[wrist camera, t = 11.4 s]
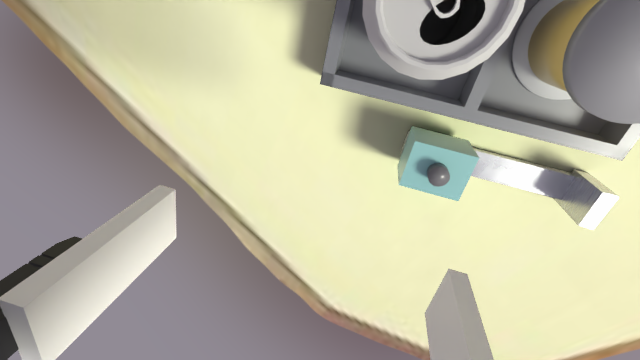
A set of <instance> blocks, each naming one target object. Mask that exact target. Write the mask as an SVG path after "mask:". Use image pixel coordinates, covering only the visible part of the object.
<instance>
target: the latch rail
mask: <svg viewBox="0 0 640 360" xmlns="http://www.w3.org/2000/svg"><path fill="white" fill-rule="evenodd" d="M409 133H410V131H408V133H407V136H406V139H405V141H404V144H403V147H402V150H401V153H400V157H401V155H402V152H403V150H404V147H405V144H406V141H407V139H408V136H409ZM473 149H474V150H475V152H476V153H477V155H478V156H479V160H478V162H477V164H476V166H475V168H474V170H473V172H472V174H471V176H474V177H478V178H481V179H485V180H489V181H493V182H496V183H500V184H504V185H507V186H511V187H515V188H519V189H522V190H526V191H530V192H534V193H537V194H541V195H545V196H549V197H552V198H554V200H555V201H556V202H557V203H558V204H559V205H560V206H561V207H562V208H563V209H564V210H565V212H566V213H567V214H568V215H569V216H570V217H571V218H572V219H573V220H574V221H575V222H576V224H577V225H578V226H582V227H585V228H589V229H593V230H594V229H595V227H596V226H597V225H598V224H599V222H600V221H601V220H602V218H603V217H604V216H605V215H606V213H607V212H608V211H609V210H610V208H611V207H612V206H613V204H614V203H615V202H616V201H617V199H618V198H619V196H617V195H616V194H615V193H614V192H612V191H611V190H610V189H608V188H607V187H606V186H604V185H603V184H602V183H601V182H599V181H598V180H597V179H595V178H594V177H593V176H591V175H590V174H589V173H587V172H583V171H579V170H576V169H574V170H573V171H572V173H570V172H566V171H562V170H558V169H554V168H550V167H546V166H543V165H539V164H535V163H531V162H527V161H523V160H520V159H516V158H512V157H508V156H504V155H500V154H496V153H493V152H489V151H485V150H481V149H477V148H473Z"/></svg>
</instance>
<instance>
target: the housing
mask: <svg viewBox="0 0 640 360" xmlns="http://www.w3.org/2000/svg"><path fill="white" fill-rule="evenodd" d="M562 1H564V0H525V3H524V8H523V11H522V13H521V15H520V17H519V19H518V21H517V22H516V24H515V26H514V28H513V30H512V32H511V33H510V35H509V37H508V38H507V39H506V40H505V41H504V43H503V44H502V45H501V46H500V47H499V48H498V49H497V50H496V51H495V52H494V53H493V54H492V55H491V56H490V57H489V58H488V59H487V60H485V61H484V62H482V63H480V64H479V65H477V66H476V67H474V68H472V69H471V70H469V71H468V72H466V73H463V74H460V75H456V76H453V77H449V78H446V79H443V80H421V79H416V78H413V77H410V76H407V75H405V74H402V73H399V72H397V71H396V70H395V69H393V68H392V67H391V66H390V65H388V64H387V63H386V62H385V61H383V60H382V59H381V58H380V56H379V55H378V53H377V52H376V50H375V48H374V47H373V45H372V44H371V42H370V41H369V39H368V35H367V31H366V27H365V23H364V19H363V15H362V14H363V0H337V2H336V7H335V12H334V17H333V22H332V27H331V32H330V37H329V42H328V47H327V52H326V57H325V62H324V67H323V72H322V77H321V82H320V84H322V85H326V86H330V87H334V88H338V89H342V90H346V91H350V92H354V93H358V94H362V95H365V96H369V97H373V98H377V99H381V100H385V101H389V102H393V103H397V104H401V105H405V106H409V107H413V108H417V109H421V110H425V111H428V112H432V113H436V114H440V115H444V116H448V117H452V118H456V119H460V120H464V121H468V122H472V123H476V124H480V125H484V126H487V127H491V128H495V129H499V130H503V131H507V132H511V133H515V134H519V135H523V136H527V137H531V138H535V139H539V140H543V141H547V142H550V143H554V144H558V145H562V146H566V147H570V148H574V149H578V150H582V151H586V152H590V153H594V154H598V155H602V156H606V157H610V158H613V159H617V160H621V161H622V160H623V159H624V158H625V156H626V155H627V154H628V152H629V151H630V150H631V148H632V147H633V145H634V144H635V143H636V141H637V140H638V139H639V137H640V123H638V124H623V123H616V122H610V121H607V120H604V119H601V118H599V117H597V116H595V115H593V114H591V113H589V112H587V111H585V110H583V109H582V108H580V107H579V106H578V105H577V104H576V103H575V102H574V101H573V100H572V99H571V97H570V96H569V94H568V92H566V91H564V90H561V89H559V88H556V87H554V86H551V85H549V84H547V83H545V82H543V81H541V80H540V79H539V78H538V77H537V76H536V75H535V74H534V73H533V71H532V69H531V67H530V64H529V61H528V47H529V42H530V38H531V36H532V34H533V31H534V30H535V28H536V26H537V25H538V23H539V22H540V20H541V19H542V18H543V17H544V16H545V15H546V14H547V13H548V12H549V11H550V10H551V9H552V8H553V7H555V6H556V5H557V4H559V3H560V2H562Z"/></svg>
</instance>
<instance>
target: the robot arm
mask: <svg viewBox="0 0 640 360" xmlns="http://www.w3.org/2000/svg"><path fill="white" fill-rule="evenodd" d="M175 238H176V191H175V189H172V188H169V187H165V186H162V185H159V186H157V187H156V188H154V189H153V190H152V191H150V192H149V193H147V194H146V195H145V196H143V197H142V198H140V199H139V200H137V201H136V202H135V203H133V204H132V205H130V206H129V207H127V208H126V209H125V210H123V211H122V212H120V213H119V214H117V215H116V216H115V217H113V218H112V219H111V220H109V221H108V222H106V223H105V224H103V225H102V226H100V227H99V228H98V229H96V230H95V231H93V232H92V233H90V234H89V235H88V236H86V237H85V238H83V239H81V238H78V237H72V238H70V239H67V240H64V241H62V242H59V243H57V244H55V245H54V246H52V247H51V248H49V249H48V250H46V251H45V252H43V253H42V255H41V256H37V257H36V258H34V259H33V260H31V261H30V262H29V263H28V264H25V265H23V266H22V267H20V268H19V269H17V270H16V271H14V272H13V273H11V274H10V275H8V276H7V277H5V278H4V279H2V280H1V281H0V360H8V358H9V357H10V356H11V355H12V354H13V353H15V352H16V351H17V350H18V351H19V353H20V356H21V358H22V360H55V359H56V358H57V357H58V356H59V355H60V354H61V353H62V352H63V351H64V350H65V349H66V348H67V347H68V346H69V345H70V344H71V343H72V342H73V341H74V340H75V339H76V338H77V337H78V336H79V335H80V334H81V333H82V332H83V331H84V330H85V329H86V328H87V327H88V326H89V325H90V324H91V323H92V322H93V321H94V320H95V319H96V318H97V317H98V316H99V315H100V314H101V313H102V312H103V311H104V310H105V309H106V308H107V307H108V306H109V305H110V304H111V303H112V302H113V301H114V300H115V299H116V298H117V297H118V296H119V295H120V294H121V293H122V292H123V291H124V290H125V289H126V288H127V287H128V286H129V285H130V284H131V283H132V282H133V281H134V280H135V279H136V278H137V277H138V276H139V275H140V274H141V273H142V272H143V271H144V270H145V269H146V268H147V267H148V266H149V265H150V264H151V263H152V262H153V261H154V260H155V258H157V257H158V256H159V254H160V253H162V251H164V250H165V248H166V247H168V246H169V244H171V242H172V241H173V240H174V239H175ZM425 318H426V326H427V334H428V342H429V350H430V358H431V360H494V359H493V356H492V352H491V349H490V346H489V343H488V340H487V336H486V333H485V330H484V327H483V324H482V320H481V317H480V314H479V311H478V307H477V304H476V301H475V298H474V295H473V291H472V288H471V285H470V282H469V279H468V275H467V274H465V273H462V272H458V271H455V270H451V269H448V271H447V273H446V275H445V276H444V278H443V280H442V282H441V284H440V286H439V288H438V290H437V291H436V293H435V295H434V297H433V299H432V301H431V303H430V304H429V306H428V308H427V310H426V312H425Z"/></svg>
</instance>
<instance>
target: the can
mask: <svg viewBox="0 0 640 360" xmlns="http://www.w3.org/2000/svg"><path fill="white" fill-rule="evenodd" d="M524 3H525V0H363V14H362V15H363V19H364V23H365V27H366V31H367V35H368V39H369V41H370V42H371V44H372V45H373V47H374V48H375V50H376V52H377V53H378V55H379V56H380V58H381V59H382V60H383V61H385V62H386V63H387V64H388V65H390V66H391V67H392V68H393V69H395V70H396V71H397V72H399V73H402V74H405V75H407V76H410V77H413V78H416V79H421V80H443V79H446V78H449V77H453V76H456V75H460V74H463V73H466V72H468V71H469V70H471V69H472V68H474V67H476V66H477V65H479V64H480V63H482V62H484V61H485V60H487V59H488V58H489V57H490V56H491V55H492V54H493V53H494V52H495V51H496V50H497V49H498V48H499V47H500V46H501V45H502V44H503V43H504V41H505V40H506V39H507V38H508V37H509V35H510V33H511V32H512V30H513V28H514V26H515V24H516V22H517V21H518V19H519V17H520V15H521V13H522V11H523V8H524Z"/></svg>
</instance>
